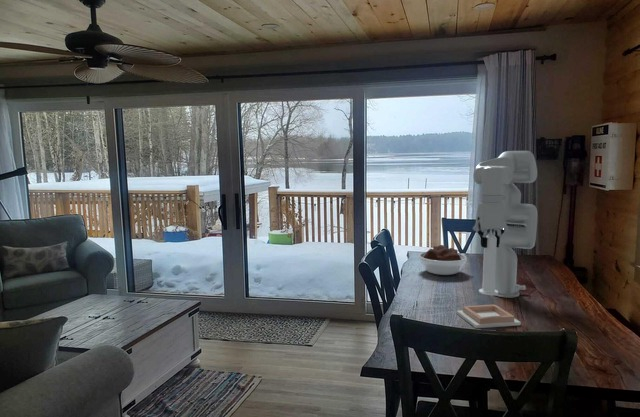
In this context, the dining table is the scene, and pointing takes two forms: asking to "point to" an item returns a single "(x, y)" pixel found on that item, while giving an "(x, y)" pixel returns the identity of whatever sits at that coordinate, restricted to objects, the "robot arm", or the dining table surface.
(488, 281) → the candle
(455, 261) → the white bowl with food
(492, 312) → the tray
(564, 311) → the dining table surface
